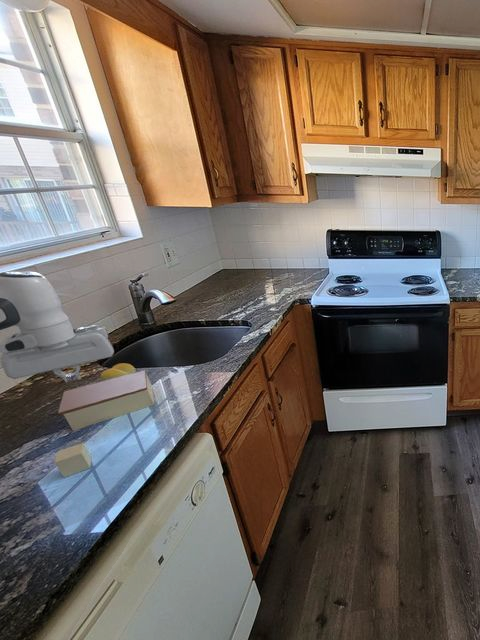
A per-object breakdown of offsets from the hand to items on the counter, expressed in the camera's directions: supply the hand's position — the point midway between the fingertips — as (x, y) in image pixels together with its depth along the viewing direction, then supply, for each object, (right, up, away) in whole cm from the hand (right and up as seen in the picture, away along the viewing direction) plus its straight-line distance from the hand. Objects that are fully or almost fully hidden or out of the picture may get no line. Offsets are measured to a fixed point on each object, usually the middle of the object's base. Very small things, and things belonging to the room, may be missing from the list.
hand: (73, 380), depth 99 cm
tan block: (+16, -18, -15) cm, 29 cm away
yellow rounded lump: (-9, -2, +24) cm, 25 cm away
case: (+4, -9, +8) cm, 12 cm away
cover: (+4, -4, +5) cm, 8 cm away
